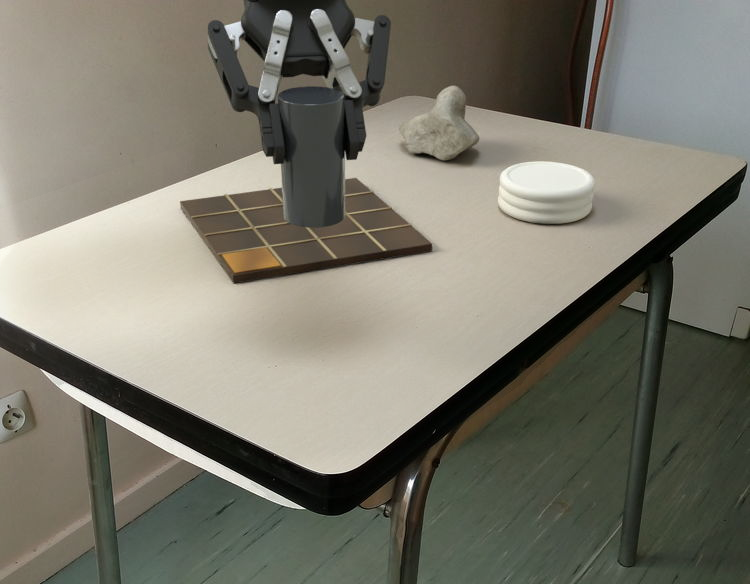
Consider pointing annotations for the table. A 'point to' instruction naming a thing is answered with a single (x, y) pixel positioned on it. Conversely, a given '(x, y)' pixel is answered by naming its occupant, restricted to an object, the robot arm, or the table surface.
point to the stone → (441, 127)
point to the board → (298, 233)
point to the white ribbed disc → (546, 192)
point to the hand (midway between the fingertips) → (316, 156)
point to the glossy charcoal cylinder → (313, 156)
